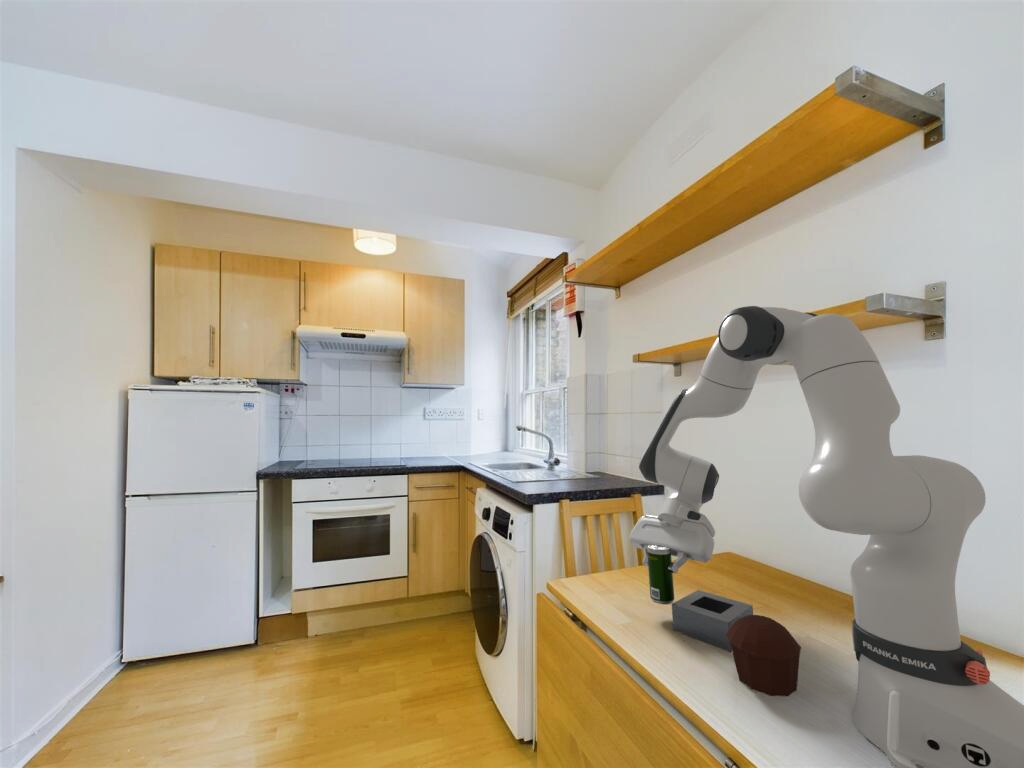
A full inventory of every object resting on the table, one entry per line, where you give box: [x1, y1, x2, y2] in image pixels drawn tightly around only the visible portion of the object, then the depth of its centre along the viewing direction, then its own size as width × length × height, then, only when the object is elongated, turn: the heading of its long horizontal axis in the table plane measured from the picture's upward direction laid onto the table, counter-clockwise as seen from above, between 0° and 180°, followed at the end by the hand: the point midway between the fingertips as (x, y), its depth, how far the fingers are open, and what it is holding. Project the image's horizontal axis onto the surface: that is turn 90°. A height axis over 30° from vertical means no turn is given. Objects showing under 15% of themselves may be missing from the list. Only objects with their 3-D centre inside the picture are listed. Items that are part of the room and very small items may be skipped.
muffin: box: [726, 614, 802, 697], centre depth 72 cm, size 12×11×10 cm
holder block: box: [671, 589, 754, 653], centre depth 90 cm, size 12×12×6 cm
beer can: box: [647, 544, 675, 606], centre depth 97 cm, size 5×5×12 cm
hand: (658, 568), depth 97 cm, fingers closed on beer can, 5 cm apart
